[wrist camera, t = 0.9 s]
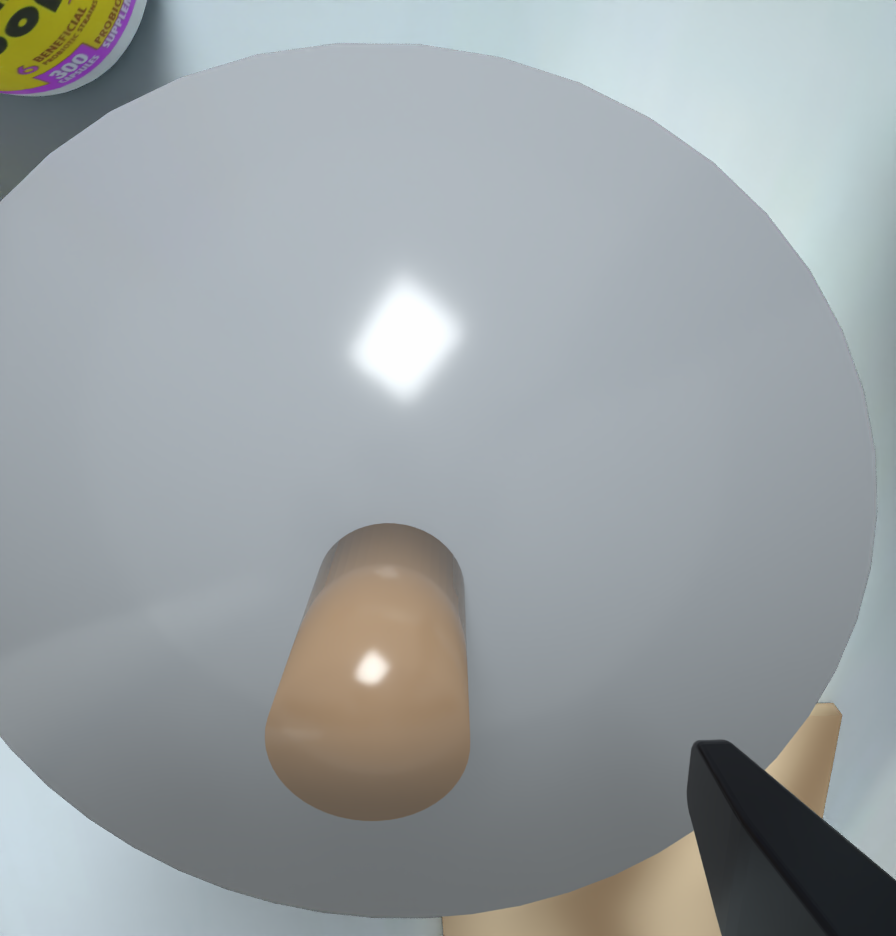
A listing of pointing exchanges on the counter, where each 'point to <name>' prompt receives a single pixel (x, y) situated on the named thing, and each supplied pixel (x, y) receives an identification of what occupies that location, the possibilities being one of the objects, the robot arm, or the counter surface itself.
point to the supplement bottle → (62, 42)
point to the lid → (410, 479)
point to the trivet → (662, 868)
